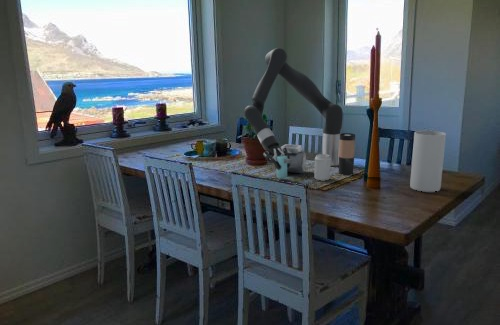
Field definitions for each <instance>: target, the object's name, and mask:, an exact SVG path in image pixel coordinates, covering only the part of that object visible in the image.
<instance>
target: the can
mask: <svg viewBox="0 0 500 325" xmlns="http://www.w3.org/2000/svg"><path fill="white" fill-rule="evenodd" d="M330 162H331V158H330V157H329V155H327V154H322V153H318V154H316V155H315V157H314V179H315V180H316V181H319V180H321V181H320V182H324V181H325V180H327V181H328V180H329V179H330V178H331V166H330ZM325 182H326V181H325Z"/></svg>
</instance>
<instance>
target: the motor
mask: <svg viewBox="0 0 500 325" xmlns="http://www.w3.org/2000/svg"><path fill="white" fill-rule="evenodd" d="M280 147H281V148H283V149H284V148H286V149H287V151H288V154H289V158H288V159H291V163H290V167H289V168H287V173H292V174H293V173H294V174H304V173H305V170H306V165H307V164H306V163H307V156H306V152H305V151H302V150H303V148H302V147H303V145H300V144H290V143H289V144H284V145H282V146H280ZM281 155H282V154H281Z"/></svg>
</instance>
